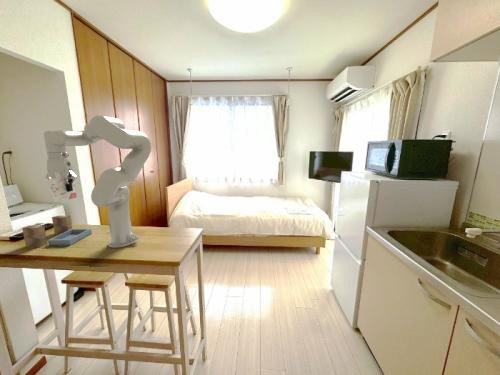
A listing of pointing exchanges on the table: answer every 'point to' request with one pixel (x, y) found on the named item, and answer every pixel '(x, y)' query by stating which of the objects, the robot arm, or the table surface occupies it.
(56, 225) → the right walnut block
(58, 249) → the table surface
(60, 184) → the ink cartridge box
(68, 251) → the table surface
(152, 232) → the table surface
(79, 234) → the tray
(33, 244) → the left walnut block
